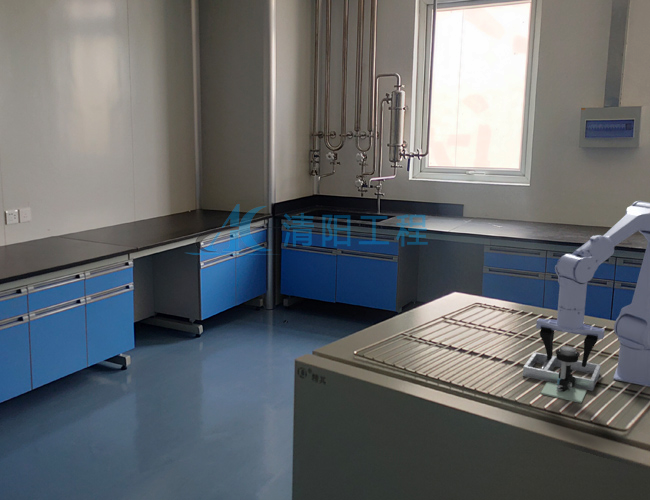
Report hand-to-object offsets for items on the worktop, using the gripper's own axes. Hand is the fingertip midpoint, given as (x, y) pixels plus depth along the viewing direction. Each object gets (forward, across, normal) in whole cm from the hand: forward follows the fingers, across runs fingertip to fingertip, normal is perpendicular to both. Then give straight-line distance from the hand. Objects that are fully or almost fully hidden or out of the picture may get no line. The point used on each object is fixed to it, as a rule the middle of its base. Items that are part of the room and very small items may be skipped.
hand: (566, 362), depth 141 cm
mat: (+8, 0, 0) cm, 8 cm away
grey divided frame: (+8, -3, +10) cm, 13 cm away
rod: (+7, -8, +10) cm, 15 cm away
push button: (+8, 0, +1) cm, 8 cm away
